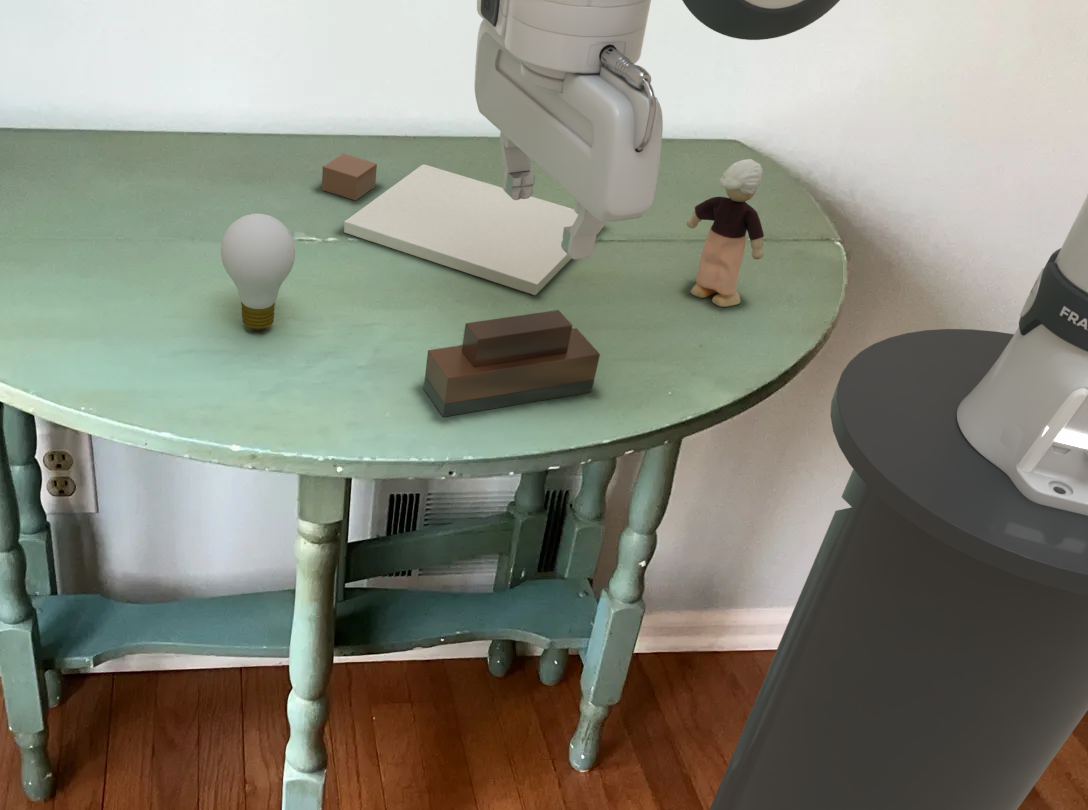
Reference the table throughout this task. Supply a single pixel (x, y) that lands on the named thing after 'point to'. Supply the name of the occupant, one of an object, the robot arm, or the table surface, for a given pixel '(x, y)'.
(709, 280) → the grandmother figurine
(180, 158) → the table surface
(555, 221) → the tile
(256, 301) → the light bulb
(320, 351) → the table surface
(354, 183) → the brown square block
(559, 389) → the brush
